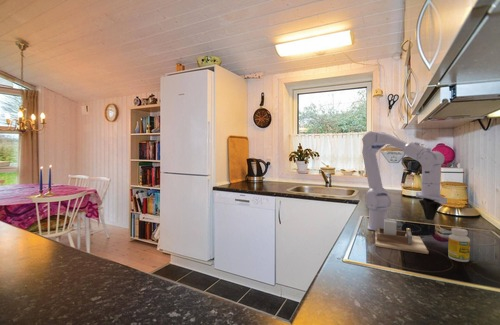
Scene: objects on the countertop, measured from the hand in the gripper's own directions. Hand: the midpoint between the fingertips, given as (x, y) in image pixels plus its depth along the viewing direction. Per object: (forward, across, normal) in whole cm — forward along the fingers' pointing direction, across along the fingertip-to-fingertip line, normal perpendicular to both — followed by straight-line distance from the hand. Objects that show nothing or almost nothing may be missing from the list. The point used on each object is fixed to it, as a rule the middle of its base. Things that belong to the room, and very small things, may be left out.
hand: (429, 219), depth 94 cm
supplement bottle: (+10, +13, +1) cm, 17 cm away
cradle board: (+9, -1, -10) cm, 14 cm away
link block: (+9, -2, -13) cm, 16 cm away
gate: (+8, 0, -7) cm, 11 cm away
